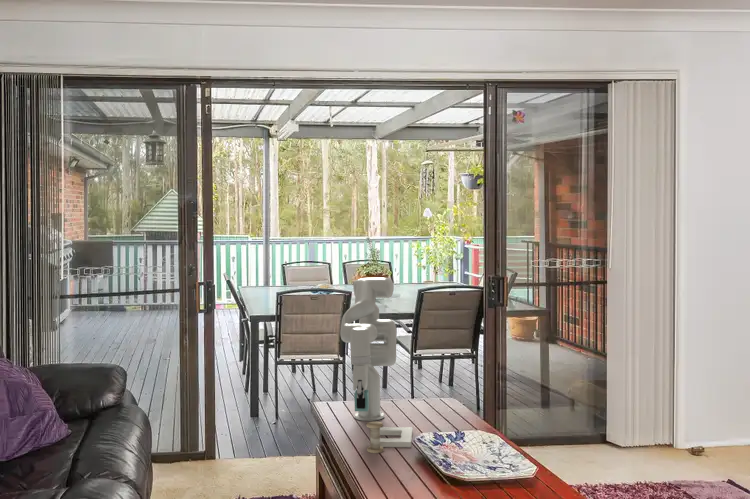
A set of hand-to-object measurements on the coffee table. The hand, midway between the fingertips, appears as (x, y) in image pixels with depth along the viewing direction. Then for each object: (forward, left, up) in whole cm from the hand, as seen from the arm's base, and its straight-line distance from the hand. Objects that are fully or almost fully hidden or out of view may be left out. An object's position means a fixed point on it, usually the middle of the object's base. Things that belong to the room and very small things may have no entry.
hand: (361, 405), depth 292 cm
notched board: (0, +12, -13) cm, 18 cm away
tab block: (0, 0, -2) cm, 2 cm away
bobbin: (+13, +6, -13) cm, 20 cm away
